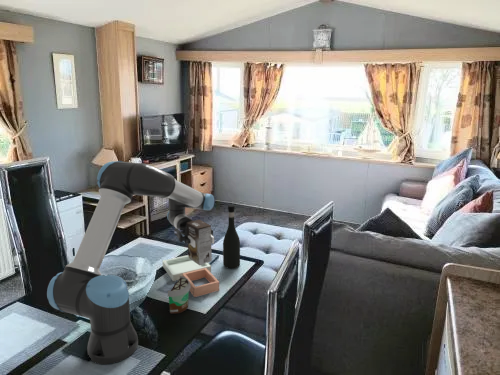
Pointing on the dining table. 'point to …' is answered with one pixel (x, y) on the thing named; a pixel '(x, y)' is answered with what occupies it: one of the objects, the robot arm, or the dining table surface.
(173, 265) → the tray
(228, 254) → the wine bottle
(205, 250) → the coffee box
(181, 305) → the food container
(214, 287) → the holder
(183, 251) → the dining table surface
